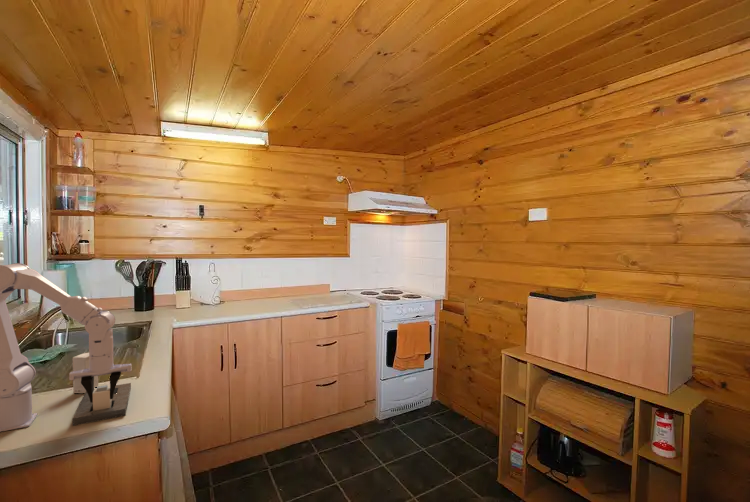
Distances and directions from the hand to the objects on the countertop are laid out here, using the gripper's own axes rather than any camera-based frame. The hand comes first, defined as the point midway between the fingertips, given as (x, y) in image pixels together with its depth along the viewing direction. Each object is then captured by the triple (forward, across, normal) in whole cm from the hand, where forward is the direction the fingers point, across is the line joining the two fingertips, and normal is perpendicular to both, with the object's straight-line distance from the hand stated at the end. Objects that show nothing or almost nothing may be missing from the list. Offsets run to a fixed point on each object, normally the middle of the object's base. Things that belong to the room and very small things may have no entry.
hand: (102, 399), depth 108 cm
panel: (+4, 0, -6) cm, 7 cm away
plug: (+3, 0, 0) cm, 3 cm away
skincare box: (+4, +7, -22) cm, 24 cm away
